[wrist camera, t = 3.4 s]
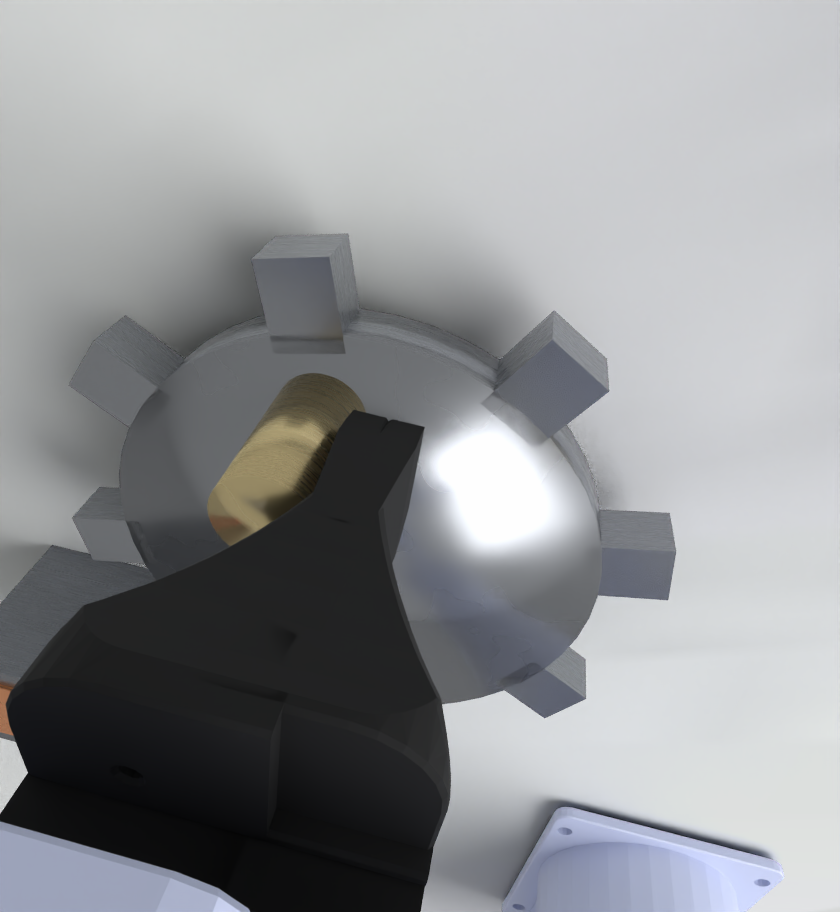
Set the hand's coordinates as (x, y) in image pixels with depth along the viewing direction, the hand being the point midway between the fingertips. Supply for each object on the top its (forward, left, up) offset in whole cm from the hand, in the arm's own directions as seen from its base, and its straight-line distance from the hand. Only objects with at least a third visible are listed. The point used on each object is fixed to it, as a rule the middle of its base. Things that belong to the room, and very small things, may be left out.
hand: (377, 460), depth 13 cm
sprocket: (-4, 0, -2) cm, 4 cm away
